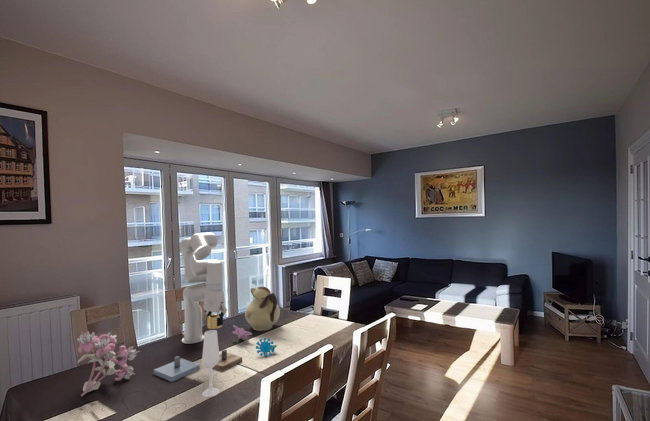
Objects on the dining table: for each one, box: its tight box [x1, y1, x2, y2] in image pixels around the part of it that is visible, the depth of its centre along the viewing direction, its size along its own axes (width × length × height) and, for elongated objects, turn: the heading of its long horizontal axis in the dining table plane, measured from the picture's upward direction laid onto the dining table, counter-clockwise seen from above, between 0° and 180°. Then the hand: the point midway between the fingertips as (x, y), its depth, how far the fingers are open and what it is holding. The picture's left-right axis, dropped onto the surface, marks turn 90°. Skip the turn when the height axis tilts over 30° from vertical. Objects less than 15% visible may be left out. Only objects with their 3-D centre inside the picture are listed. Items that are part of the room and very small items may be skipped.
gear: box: [255, 337, 278, 358], centre depth 166 cm, size 11×6×10 cm
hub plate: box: [153, 355, 201, 383], centre depth 147 cm, size 14×14×6 cm
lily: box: [231, 324, 253, 345], centre depth 183 cm, size 12×12×10 cm
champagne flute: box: [201, 329, 221, 398], centre depth 129 cm, size 7×7×24 cm
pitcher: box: [244, 286, 281, 332], centre depth 208 cm, size 22×24×25 cm
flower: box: [77, 330, 141, 397], centre depth 136 cm, size 20×22×25 cm
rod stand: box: [212, 349, 243, 372], centre depth 155 cm, size 12×12×6 cm
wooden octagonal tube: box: [206, 313, 223, 330], centre depth 154 cm, size 7×7×5 cm
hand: (214, 323), depth 154 cm, fingers closed on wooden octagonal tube, 6 cm apart
